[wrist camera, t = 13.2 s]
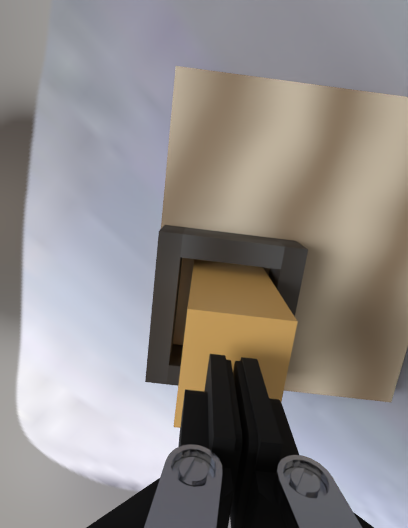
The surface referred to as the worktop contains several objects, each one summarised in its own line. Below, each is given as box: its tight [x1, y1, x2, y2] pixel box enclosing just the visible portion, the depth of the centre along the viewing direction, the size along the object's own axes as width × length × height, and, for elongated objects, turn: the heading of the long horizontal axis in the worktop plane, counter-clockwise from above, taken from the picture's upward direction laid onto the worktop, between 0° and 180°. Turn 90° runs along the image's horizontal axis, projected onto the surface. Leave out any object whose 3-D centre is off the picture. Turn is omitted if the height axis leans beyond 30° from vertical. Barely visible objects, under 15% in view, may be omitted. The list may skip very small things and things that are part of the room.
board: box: [145, 66, 408, 402], centre depth 19 cm, size 16×18×4 cm
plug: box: [174, 259, 298, 428], centre depth 17 cm, size 4×6×8 cm
